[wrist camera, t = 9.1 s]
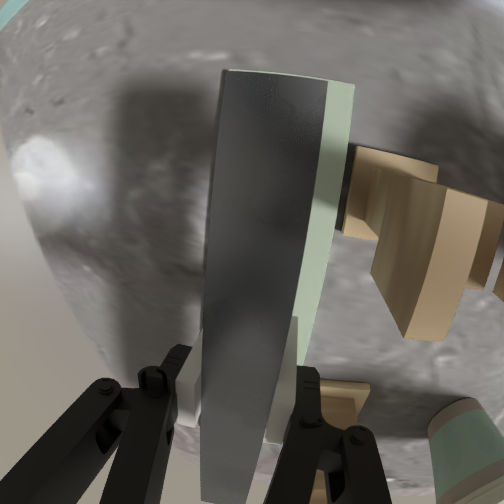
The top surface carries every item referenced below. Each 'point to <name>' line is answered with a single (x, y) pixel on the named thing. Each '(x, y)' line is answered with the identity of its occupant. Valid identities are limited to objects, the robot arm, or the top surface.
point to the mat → (322, 206)
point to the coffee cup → (466, 455)
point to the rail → (253, 264)
